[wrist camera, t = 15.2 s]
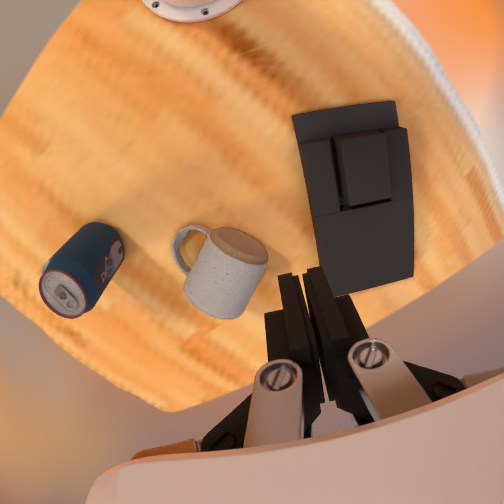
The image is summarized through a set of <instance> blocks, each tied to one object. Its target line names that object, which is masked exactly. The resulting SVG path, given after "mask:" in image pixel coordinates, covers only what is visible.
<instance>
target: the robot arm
mask: <svg viewBox="0 0 504 504" xmlns="http://www.w3.org/2000/svg"><path fill="white" fill-rule="evenodd" d="M142 1H143V2H144V4H145V5H146V6H147V7H148V8H149V9H150V10H151V11H152V12H154V13H155V14H157V15H158V16H160V17H163V18H165V19H167V20H172V21H176V22H187V23H189V22H200V21H204V20H209V19H212V18H215V17H217V16H220V15H222V14H224V13H226V12H228V11H229V10H231V9H232V8H234V7H235V6H236V5H237V4H239V3H240V2H241V1H242V0H142ZM157 5H159V7H157V8H156V6H157ZM205 12H208V14H207V15H204V13H205ZM302 276H303V281H304V287H305V293H306V298H307V304H308V310H309V313H308V310H307V306H306V302H305V299H304V295H303V291H302V288H301V284H300V281H299V277H298V275H296V276H292V273H287V274H283V275H278V281H279V287H280V293H281V299H282V305H283V309H282V310H278V311H273V312H268V313H265V314H264V318H265V330H266V341H267V353H268V363H266V364H265V365H263V366H262V367H261V368H260V369H259V370H258V371H257V373H256V376H255V379H254V386H253V392H252V393H251V395H249V396H248V397H247V398H246V399H245V400H244V401H243V402H242V403H241V404H240V405H239V406H237V407H236V408H235V409H234V410H233V411H232V412H231V413H230V414H229V415H228V416H227V417H225V418H224V419H223V420H222V421H221V422H220V423H219V424H218V425H216V426H215V427H214V428H213V429H212V430H211V431H209V432H208V433H207V435H206V436H205V437H204V438H203V439H201V440H198V441H196V440H195V439H190V440H186V441H183V442H178V443H174V444H170V445H166V446H161V447H157V448H152V449H147V450H143V451H140V452H138V453H137V454H135V455H134V456H133V457H132V459H131V460H130V461H128V462H125V463H121V464H118V465H116V466H114V467H112V468H110V469H108V470H106V471H104V472H103V473H102V474H101V475H100V476H99V477H98V478H97V479H96V481H95V482H94V484H93V486H92V488H91V490H90V492H89V495H88V497H87V500H86V503H85V504H504V367H500V368H496V369H492V370H487V371H483V372H478V373H473V374H468V375H464V376H463V379H457V378H455V377H453V376H451V375H447V374H444V373H441V372H438V371H434V370H431V369H428V368H425V367H421V366H418V365H415V364H411V363H408V362H405V361H402V359H401V358H400V357H399V356H398V354H397V353H396V351H395V350H394V349H393V348H392V346H391V345H390V344H389V343H388V342H386V341H384V340H382V339H377V338H369V336H368V334H367V332H366V330H365V327H364V325H363V323H362V321H361V319H360V316H359V314H358V312H357V310H356V308H355V306H354V304H353V301H352V299H351V297H350V296H349V295H344V296H340V297H335V298H334V296H333V293H332V291H331V288H330V286H329V283H328V281H327V279H326V276H325V274H324V271H323V269H322V267H321V266H319V267H314V268H310V269H307V273H305V274H302ZM309 316H310V317H309ZM319 360H320V363H319ZM320 364H321V368H322V372H323V376H324V380H325V385H326V389H327V393H328V397H329V401H334V400H335V401H336V405H337V408H340V409H342V410H344V411H347V412H349V413H350V417H351V420H352V422H353V424H354V426H355V427H354V428H350V429H346V430H342V431H338V432H334V433H330V434H325V435H321V436H316V437H313V424H312V423H313V422H314V421H315V419H316V418H317V417H318V416H319V415H320V413H321V409H320V403H325V399H324V392H323V384H322V377H321V370H320Z"/></svg>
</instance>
